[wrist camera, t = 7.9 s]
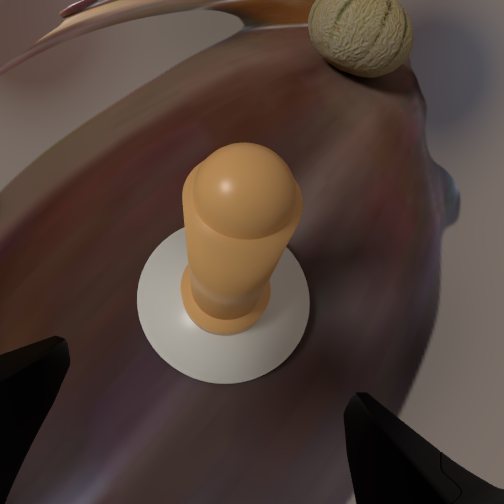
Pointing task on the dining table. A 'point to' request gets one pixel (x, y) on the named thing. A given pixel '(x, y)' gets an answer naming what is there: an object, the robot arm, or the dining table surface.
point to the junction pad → (215, 346)
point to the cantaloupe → (361, 35)
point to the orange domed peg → (236, 234)
